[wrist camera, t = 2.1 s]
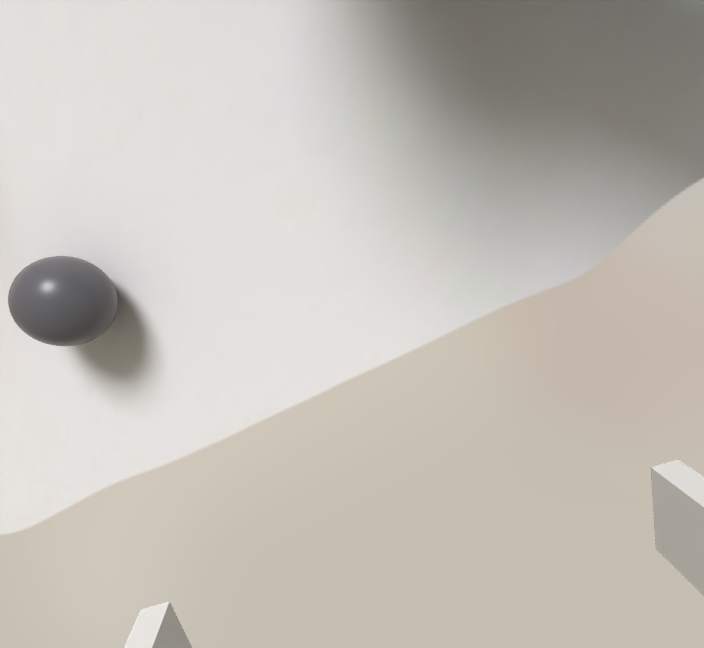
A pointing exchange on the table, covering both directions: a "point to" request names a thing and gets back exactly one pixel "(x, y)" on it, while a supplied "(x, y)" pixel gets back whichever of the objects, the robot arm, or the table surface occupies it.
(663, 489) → the robot arm
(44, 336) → the gray ball
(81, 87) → the table surface
